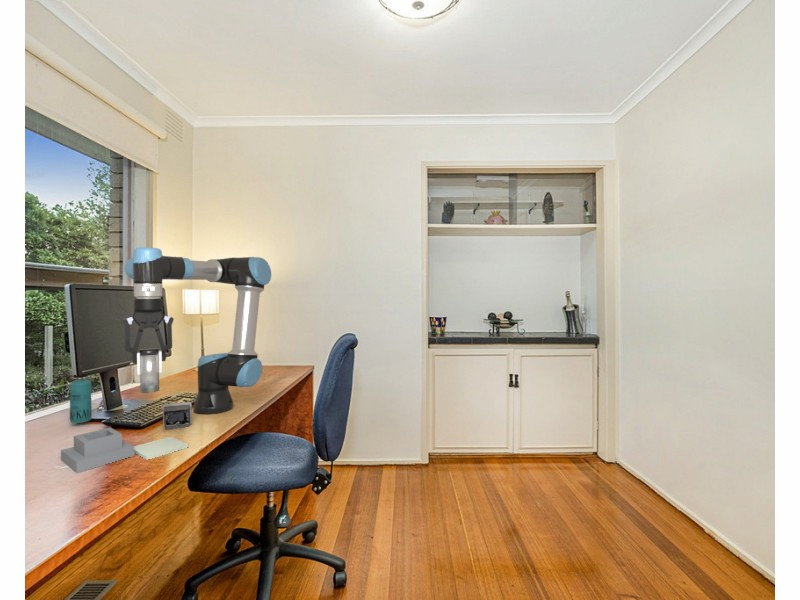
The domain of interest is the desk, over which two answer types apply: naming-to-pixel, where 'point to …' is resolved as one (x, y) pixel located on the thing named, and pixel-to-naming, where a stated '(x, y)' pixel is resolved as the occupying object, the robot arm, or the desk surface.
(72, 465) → the socket block
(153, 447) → the sage board
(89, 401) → the beverage bottle
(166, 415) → the electrical switch
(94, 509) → the desk surface
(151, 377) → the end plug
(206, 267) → the robot arm
